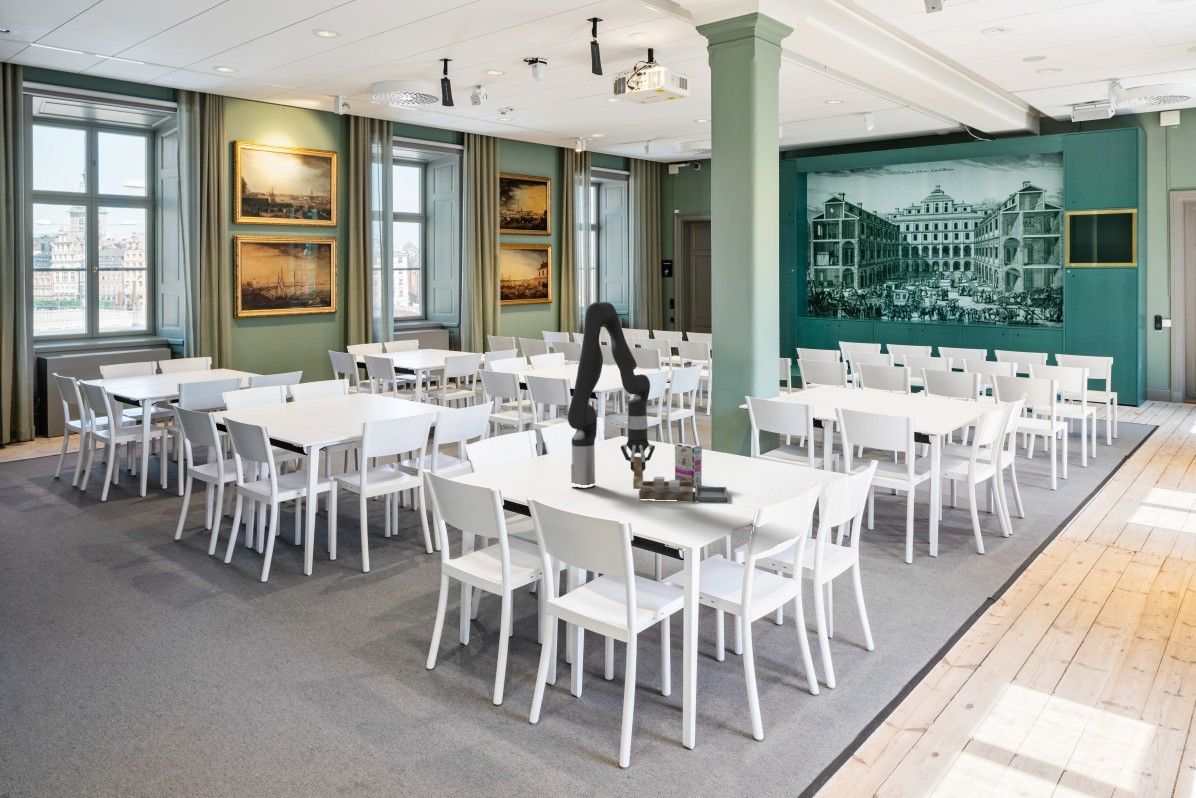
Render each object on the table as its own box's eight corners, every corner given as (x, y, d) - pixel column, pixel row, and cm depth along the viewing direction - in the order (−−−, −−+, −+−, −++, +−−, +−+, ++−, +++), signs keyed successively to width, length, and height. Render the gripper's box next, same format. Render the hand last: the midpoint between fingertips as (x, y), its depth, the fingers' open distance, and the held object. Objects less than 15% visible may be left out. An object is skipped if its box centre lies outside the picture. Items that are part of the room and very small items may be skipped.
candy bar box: (702, 486, 363) (702, 445, 360) (693, 487, 360) (693, 447, 357) (683, 481, 371) (683, 442, 369) (674, 482, 368) (674, 443, 366)
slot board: (639, 501, 340) (639, 490, 339) (641, 490, 356) (641, 480, 355) (692, 501, 338) (692, 491, 337) (692, 491, 353) (692, 481, 353)
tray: (695, 501, 338) (695, 496, 337) (695, 491, 353) (695, 486, 353) (727, 502, 336) (727, 497, 336) (726, 492, 352) (726, 487, 352)
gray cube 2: (668, 492, 342) (668, 482, 342) (669, 489, 346) (669, 479, 346) (679, 492, 342) (679, 482, 341) (679, 490, 346) (679, 479, 345)
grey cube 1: (653, 489, 348) (653, 478, 347) (654, 486, 352) (654, 476, 351) (664, 489, 347) (663, 479, 347) (664, 486, 351) (664, 476, 351)
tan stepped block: (633, 488, 342) (632, 460, 341) (635, 482, 353) (635, 454, 351) (641, 488, 342) (640, 460, 340) (643, 482, 353) (642, 454, 351)
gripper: (618, 428, 341) (619, 473, 344) (655, 428, 340) (655, 473, 342) (620, 425, 349) (620, 469, 351) (656, 425, 347) (656, 469, 350)
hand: (638, 470), depth 347 cm, fingers closed on tan stepped block, 3 cm apart
